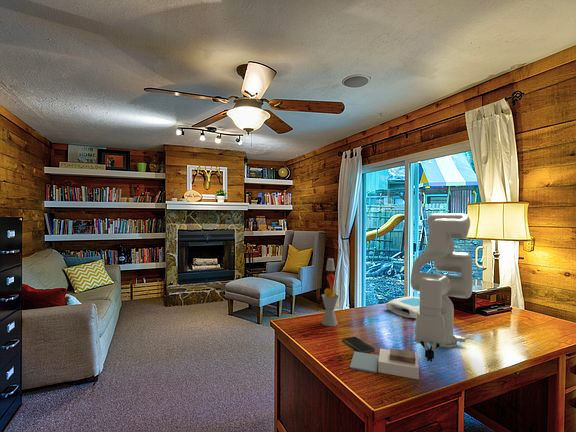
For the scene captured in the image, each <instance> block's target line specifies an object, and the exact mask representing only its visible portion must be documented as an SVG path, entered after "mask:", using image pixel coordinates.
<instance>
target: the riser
mask: <svg viewBox="0 0 576 432" xmlns="http://www.w3.org/2000/svg"><path fill="white" fill-rule="evenodd" d="M378 354H379V360H378V367H377V373H379V374H380V373H381V374H386V375H392V376H398V377H404V378H409V379H415V380H419V379H420V368H419V359H418V358H419V357H418V354H417V353H415V358H416V362H415V364H412V363H406V362H400V361H394V360H390V349H387V348H379V353H378Z"/></svg>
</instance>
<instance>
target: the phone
mask: <svg viewBox="0 0 576 432" xmlns="http://www.w3.org/2000/svg"><path fill="white" fill-rule="evenodd" d="M342 342H343V343H345V344H346V345H347V346H349V347H350V348H352V349H353V350H354V351H355V352H361V353H367V354H370V353H374V352H375V347H373V346H371V345H370V344H368V343H366V342H365V341H363V339H360V338H359V337H357V336H350V337H343V338H342Z"/></svg>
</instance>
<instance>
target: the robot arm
mask: <svg viewBox="0 0 576 432" xmlns="http://www.w3.org/2000/svg"><path fill="white" fill-rule="evenodd" d="M427 227H428V236H427V243H426V249H425V250H424V251H423V252H422V253H420V254H419V255H418V256H417V257H416V259H415V260H414V262H413V263H412V268H411V273H410V286H411V289H413V290H414V291H416V292H419V297H420V305H419V312H417V315H416V318H415V324H414V325H415V326H414V328H415V329H414V335H415V336H414V339H413V340H414V343H417V344H419V345H421V346H422V347H423V348H424V358H426V360H427V362H431V363H432V362H433V360H434V359H435V351H436V350H437V349H439V348H449V349H450V348H455V347H457V346H458V342H460V343H466V338H465V337H461V335H456V334H454V315H455V313H454V311H455V309H454V304H453V302H452V300H451V299H450V298H449V297H454V298H459V299H469V298H470V297H472V294H473V270H474V269H473V258H472V256H471V254H469V253H467V252H461V251H459V252H458V251H455V240H464V239H466V238H467V237H468V234H469V230H470V227H471V219H470V217H469V215H468V214H465V213H440V212H439V213H431V214H430V215H428V217H427ZM454 239H455V240H454ZM431 262H433V267H434V269H435V270H436V271H438V272H446V273H456V274H459V276H458V275H451V274H444V273H443V274H442V273H431V272H430V273H429V272H421V270H422V268H423V267H424V266H426V265H427V264H428V263H431ZM428 343H429V344H430V345H431V346H430V347H429V345H428Z"/></svg>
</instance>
